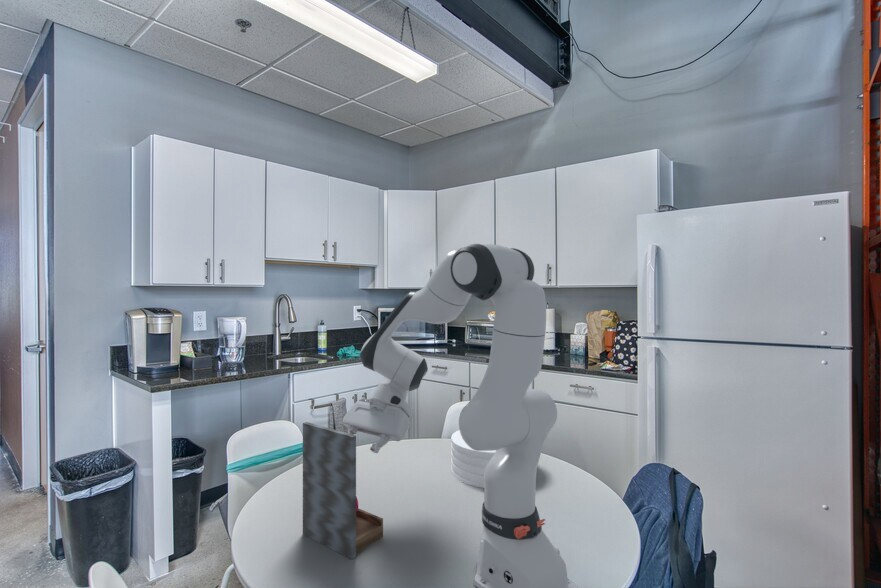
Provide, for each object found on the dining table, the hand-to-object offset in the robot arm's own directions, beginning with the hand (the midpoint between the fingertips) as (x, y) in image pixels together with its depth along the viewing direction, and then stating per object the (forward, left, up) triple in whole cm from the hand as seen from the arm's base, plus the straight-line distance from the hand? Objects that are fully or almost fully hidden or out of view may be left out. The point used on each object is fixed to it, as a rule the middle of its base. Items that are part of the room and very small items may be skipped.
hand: (360, 447), depth 116 cm
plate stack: (+9, -52, -21) cm, 57 cm away
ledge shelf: (-2, +5, -21) cm, 21 cm away
